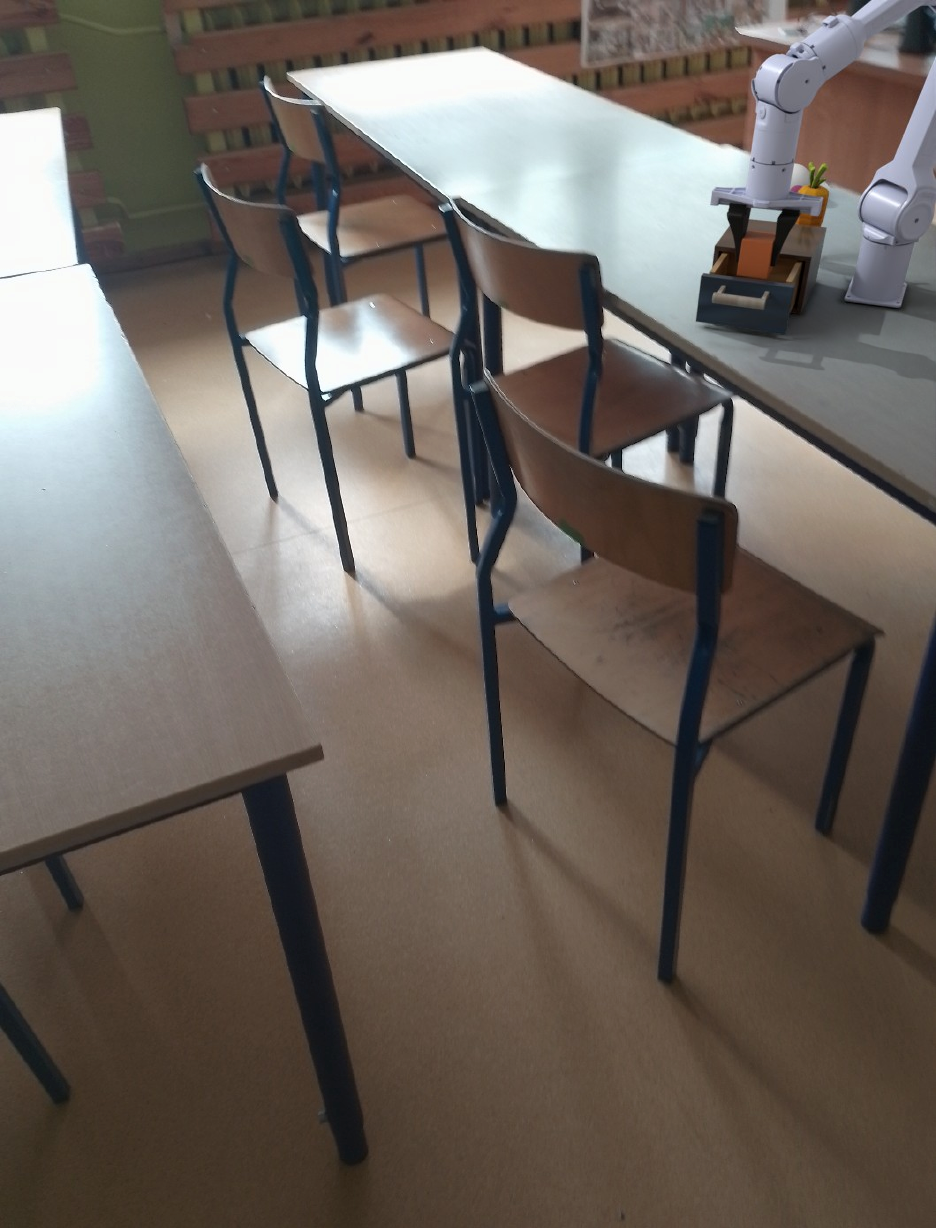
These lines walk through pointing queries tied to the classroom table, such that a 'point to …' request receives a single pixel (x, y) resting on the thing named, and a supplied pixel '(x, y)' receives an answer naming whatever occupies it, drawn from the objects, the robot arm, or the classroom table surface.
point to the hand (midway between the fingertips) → (756, 262)
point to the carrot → (817, 191)
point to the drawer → (749, 295)
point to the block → (756, 254)
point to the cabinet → (787, 252)
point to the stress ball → (799, 178)
